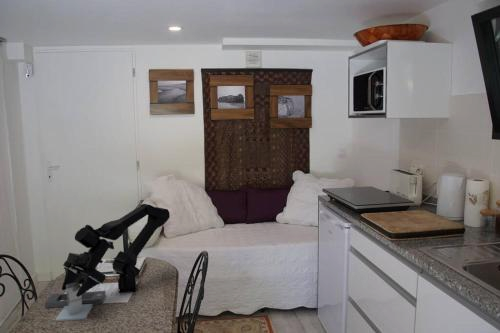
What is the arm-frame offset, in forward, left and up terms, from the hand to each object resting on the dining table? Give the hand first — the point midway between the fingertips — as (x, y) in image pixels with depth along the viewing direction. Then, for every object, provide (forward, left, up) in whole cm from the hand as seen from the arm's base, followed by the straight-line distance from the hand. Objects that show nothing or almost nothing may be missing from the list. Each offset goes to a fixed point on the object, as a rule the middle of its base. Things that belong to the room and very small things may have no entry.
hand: (69, 293), depth 137 cm
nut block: (-1, -1, -8) cm, 8 cm away
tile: (-1, -1, -8) cm, 8 cm away
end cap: (+5, -32, -8) cm, 33 cm away
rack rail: (+1, -10, -8) cm, 13 cm away
